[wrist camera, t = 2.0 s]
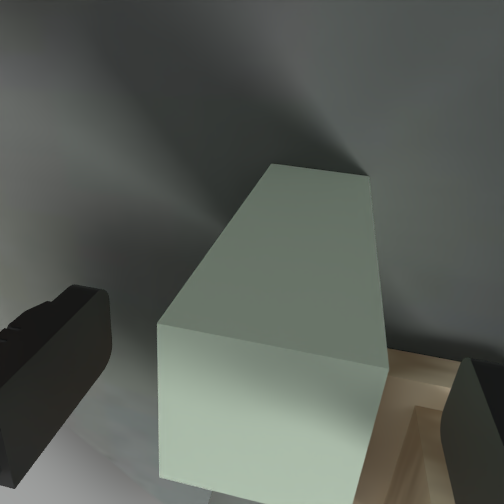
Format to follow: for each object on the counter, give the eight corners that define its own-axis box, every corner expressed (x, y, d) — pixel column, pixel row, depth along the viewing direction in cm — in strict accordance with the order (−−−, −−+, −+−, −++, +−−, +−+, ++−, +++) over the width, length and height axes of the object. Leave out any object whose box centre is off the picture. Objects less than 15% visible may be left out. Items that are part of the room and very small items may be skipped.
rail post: (369, 176, 18) (389, 369, 7) (351, 264, 20) (346, 524, 9) (271, 163, 18) (157, 322, 8) (262, 250, 20) (159, 476, 10)
